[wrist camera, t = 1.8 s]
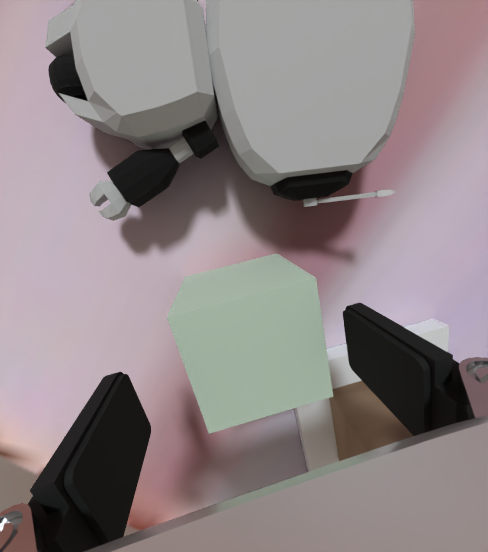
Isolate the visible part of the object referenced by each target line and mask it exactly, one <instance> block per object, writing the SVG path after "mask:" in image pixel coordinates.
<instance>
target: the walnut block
mask: <svg viewBox="0 0 488 552" xmlns="http://www.w3.org/2000/svg"><path fill="white" fill-rule="evenodd" d="M332 390H333V397H330V398H329V400H330V406H331V413H332V419H333V425H334V432H335V438H336V445H337V451H338V458H339V461H342V460H345V459H348V458H351V457H354V456H357V455H359V454H362V453H365V452H368V451H371V450H374V449H377V448H380V447H383V446H386V445H389V444H392V443H395V442H398V441H401V440H404V439H407V438H410V437H413V435H412V434H411V433H410V432H409V431H408V429H407V428H406V427H405V426H404V425H403V424H402V423H401V422H400V421H399V420H398V419H397V418H396V417H395V416H394V414H393V413H392V412H391V411H390V410H389V409H388V408H387V407H386V406H385V405H384V404H383V403H382V402H381V401H380V399H379V398H378V397H377V396H376V395H375V394H374V393H373V392H372V391H371V390H370V389H369V388H368V387H367V386H366V384H365V383H364V382H363V381H359V382H355V383H352V384H348V385H345V386H342V387H338V388H335V389H332Z"/></svg>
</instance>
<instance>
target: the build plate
mask: <svg viewBox="0 0 488 552" xmlns="http://www.w3.org/2000/svg"><path fill="white" fill-rule="evenodd" d="M404 328H406V329H408V330H409V331H411V332H413V333H415V334H416V335H418V336H420V337H422V338H423V339H425V340H427V341H429V342H431V343H432V344H434V345H436V346H438V347H439V348H441V349H443V350H445V351H446V352H448V338H449V326H448V325H446V324H444V323H442V322H440V321H438V320H436V319H434V318H433V319H430V320H426V321H423V322H419V323H416V324H412V325H409V326H405V327H404ZM326 350H327V356H328V363H329V370H330V377H331V384H332V389H335V388H338V387H342V386H345V385H348V384H352V383H355V382H359V381H362V380H361V379H360V378H359V377H358V376H357V375H356V374H355V373H354V372H353V370H352V369H351V367H350V365H349V361H348V352H347V344H342V345H339V346H335V347H332V348H328V349H326ZM294 410H295V415H296V419H297V424H298V429H299V433H300V438H301V443H302V448H303V452H304V457H305V462H306V466H307V471H308V472H310V471H313V470H315V469H318V468H321V467H324V466H327V465H330V464H333V463H336V462H339V458H338V451H337V445H336V438H335V432H334V425H333V419H332V413H331V406H330V400H329V398H327V399H323V400H320V401H317V402H313V403H310V404H307V405H303V406H300V407H297V408H294Z"/></svg>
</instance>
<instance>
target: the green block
mask: <svg viewBox="0 0 488 552" xmlns="http://www.w3.org/2000/svg"><path fill="white" fill-rule="evenodd" d="M167 319H168V322H169V324H170V327H171V330H172V333H173V335H174V338H175V341H176V344H177V347H178V349H179V352H180V355H181V358H182V360H183V363H184V366H185V369H186V371H187V374H188V377H189V380H190V383H191V385H192V388H193V391H194V394H195V396H196V399H197V402H198V405H199V407H200V410H201V413H202V416H203V419H204V421H205V424H206V427H207V430H208V432H209V434H210V433H213V432H217V431H220V430H223V429H227V428H230V427H233V426H237V425H240V424H243V423H247V422H250V421H253V420H257V419H260V418H263V417H267V416H270V415H273V414H277V413H280V412H283V411H287V410H290V409H293V408H297V407H300V406H303V405H307V404H310V403H313V402H317V401H320V400H323V399H327V398H330V397H333V390H332V384H331V377H330V370H329V363H328V356H327V350H326V343H325V336H324V329H323V322H322V316H321V309H320V302H319V295H318V288H317V282H316V278H315V277H314V276H312V275H311V274H309V273H307V272H306V271H304V270H303V269H301V268H299V267H298V266H296V265H295V264H293V263H291V262H290V261H288V260H287V259H285V258H283V257H282V256H280V255H278V254H277V253H276V254H273V255H269V256H265V257H261V258H257V259H253V260H249V261H245V262H241V263H237V264H233V265H229V266H226V267H222V268H218V269H214V270H210V271H206V272H202V273H198V274H194V275H190V276H186V277H185V279H184V281H183V283H182V285H181V287H180V290H179V292H178V294H177V296H176V298H175V301H174V303H173V305H172V307H171V309H170V312H169V314H168V316H167Z"/></svg>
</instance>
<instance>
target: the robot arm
mask: <svg viewBox="0 0 488 552" xmlns="http://www.w3.org/2000/svg"><path fill="white" fill-rule="evenodd" d="M343 319H344V327H345V336H346V344H347V352H348V361H349V365H350V367H351V369H352V370H353V372H354V373H355V374H356V375H357V376H358V377H359V378H360V379H361V380H362V381H363V382H364V383H365V384H366V386H367V387H368V388H369V389H370V390H371V391H372V392H373V393H374V394H375V395H376V396H377V397H378V398H379V399H380V401H381V402H382V403H383V404H384V405H385V406H386V407H387V408H388V409H389V410H390V411H391V412H392V413H393V414H394V416H395V417H396V418H397V419H398V420H399V421H400V422H401V423H402V424H403V425H404V426H405V427H406V428H407V429H408V431H409V432H410V433H411V434H412V435H413V437H410V438H407V439H404V440H401V441H398V442H395V443H392V444H389V445H386V446H383V447H380V448H377V449H374V450H371V451H368V452H365V453H362V454H359V455H357V456H354V457H351V458H348V459H345V460H342V461H339V462H336V463H333V464H330V465H327V466H324V467H321V468H318V469H315V470H313V471H310V472H307V473H304V474H301V475H298V476H295V477H292V478H289V479H287V480H284V481H281V482H278V483H275V484H272V485H269V486H266V487H263V488H261V489H258V490H255V491H252V492H249V493H246V494H243V495H240V496H238V497H235V498H232V499H229V500H226V501H223V502H220V503H217V504H215V505H212V506H209V507H206V508H203V509H201V510H198V511H195V512H192V513H189V514H186V515H184V516H181V517H178V518H175V519H172V520H169V521H167V522H164V523H161V524H158V525H155V526H153V527H150V528H147V529H144V530H141V531H138V532H136V533H133V534H130V535H127V536H124V532H125V528H126V525H127V521H128V517H129V513H130V510H131V506H132V502H133V498H134V495H135V491H136V487H137V483H138V480H139V476H140V472H141V468H142V465H143V461H144V457H145V453H146V450H147V446H148V442H149V438H150V434H151V426H150V423H149V421H148V418H147V416H146V414H145V412H144V409H143V407H142V405H141V403H140V400H139V398H138V396H137V394H136V392H135V389H134V387H133V385H132V383H131V380H130V378H129V376H128V375H127V374H123V373H122V372H118V373H114V374H111V375H107V376H105V377H104V378H103V379H102V381H101V382H100V384H99V385H98V387H97V388H96V390H95V391H94V393H93V395H92V396H91V398H90V399H89V401H88V402H87V404H86V405H85V407H84V408H83V410H82V411H81V413H80V414H79V416H78V418H77V419H76V421H75V422H74V424H73V425H72V427H71V428H70V430H69V431H68V433H67V434H66V436H65V437H64V439H63V441H62V442H61V444H60V445H59V447H58V448H57V450H56V451H55V453H54V454H53V456H52V457H51V459H50V460H49V462H48V463H47V465H46V467H45V468H44V470H43V471H42V473H41V474H40V476H39V477H38V479H37V480H36V482H35V483H34V485H33V486H32V488H31V490H30V492H31V493H32V494H33V497H32V498H31V500H30V502H29V503H28V504H24V503H21V504H18V505H14V506H12V507H10V508H8V509H6V510H4V511H2V512H1V513H0V552H488V358H480V357H475V358H468V359H465V360H463V361H462V362H461V363H460V364H459V363H458V362H456V361H454V360H453V355H452V354H450V353H448V352H446V351H445V350H443V349H441V348H439V347H438V346H436V345H434V344H432V343H431V342H429V341H427V340H425V339H423V338H422V337H420V336H418V335H416V334H415V333H413V332H411V331H409V330H408V329H406V328H404V327H402V326H401V325H399V324H397V323H395V322H394V321H392V320H390V319H388V318H387V317H385V316H383V315H381V314H380V313H378V312H376V311H374V310H373V309H371V308H369V307H367V306H366V305H364V304H362V303H357V304H353V305H350V306H347V307H346V310H345V311H343ZM123 536H124V537H123Z"/></svg>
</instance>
